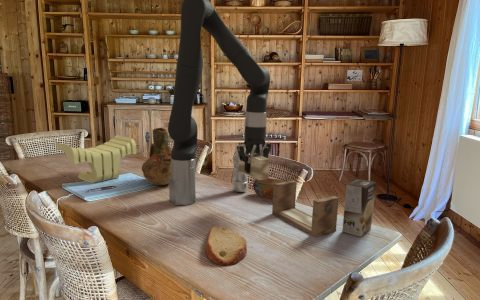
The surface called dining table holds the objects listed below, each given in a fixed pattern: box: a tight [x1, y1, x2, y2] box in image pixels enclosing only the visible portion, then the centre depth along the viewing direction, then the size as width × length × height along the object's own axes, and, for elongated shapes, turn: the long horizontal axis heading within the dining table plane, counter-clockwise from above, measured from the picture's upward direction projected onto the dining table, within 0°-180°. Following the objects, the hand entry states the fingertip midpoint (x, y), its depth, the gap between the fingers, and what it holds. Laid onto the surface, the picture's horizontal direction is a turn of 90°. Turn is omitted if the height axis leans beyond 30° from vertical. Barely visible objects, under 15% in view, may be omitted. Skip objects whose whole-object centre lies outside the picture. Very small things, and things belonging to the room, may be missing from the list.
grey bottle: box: [231, 147, 249, 193], centre depth 153 cm, size 6×7×20 cm
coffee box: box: [342, 178, 377, 238], centre depth 117 cm, size 9×6×16 cm
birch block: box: [239, 150, 271, 180], centre depth 130 cm, size 4×14×7 cm, turn 30°
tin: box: [253, 176, 285, 200], centre depth 148 cm, size 15×3×8 cm, turn 56°
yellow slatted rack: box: [55, 134, 137, 184], centre depth 168 cm, size 30×16×18 cm, turn 140°
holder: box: [271, 180, 340, 237], centre depth 123 cm, size 9×23×11 cm, turn 33°
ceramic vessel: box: [141, 127, 172, 186], centre depth 160 cm, size 17×26×25 cm, turn 32°
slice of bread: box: [205, 226, 248, 267], centre depth 104 cm, size 18×18×4 cm
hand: (253, 171), depth 130 cm, fingers closed on birch block, 4 cm apart
